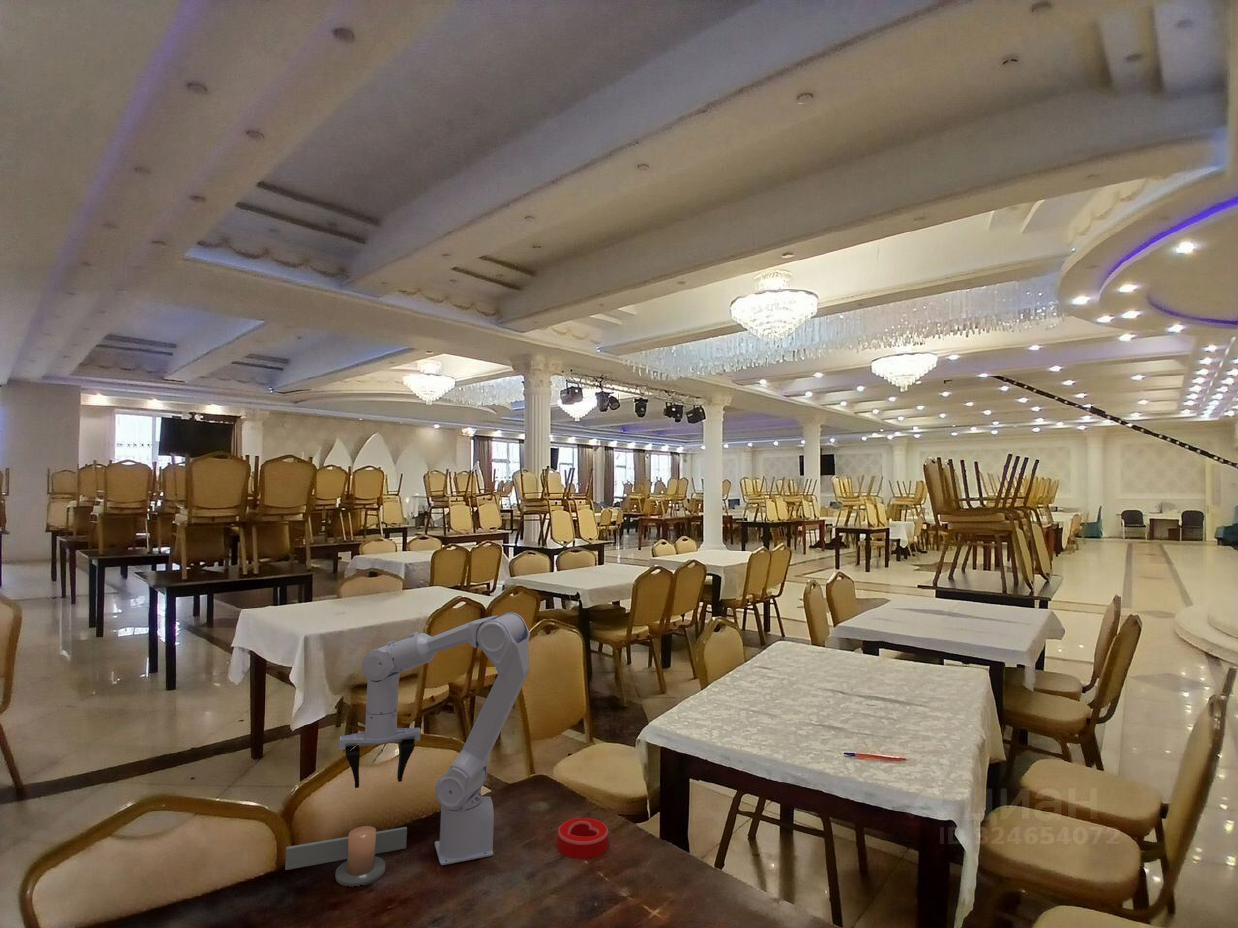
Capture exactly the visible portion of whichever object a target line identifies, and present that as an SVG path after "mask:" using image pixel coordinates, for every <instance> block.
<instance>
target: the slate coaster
mask: <svg viewBox="0 0 1238 928" xmlns="http://www.w3.org/2000/svg"><path fill="white" fill-rule="evenodd" d="M347 861H348V860H346V861H344V862H342V863H341V864H340V865H339V866H338V867H337V868H336V870H335V875H334V876H335V877H334V878H335V882H336V883H337V884H338V885H340V886H343V887H347V886H349V887H350V888H355V887H354V886H357V887H361V886H360V885H363V886H367V885H369V884H372V883H374V882H376V881H378V880H380V878H382V876H384V874H385V872H386V861H385V860H384V859H383V858H381V857H379V856H376V855H375V865H374V869H373V870H372V871H370V872H369V873H367V874H364V875H359V876H354V875H350V874H348V872H347ZM349 887H348V888H349Z"/></svg>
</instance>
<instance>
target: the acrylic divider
mask: <svg viewBox="0 0 1238 928" xmlns="http://www.w3.org/2000/svg"><path fill="white" fill-rule="evenodd" d="M407 834H408V827H407V826H403V827H396V828H391V829H385V830H384V829H383V830H380V831H376V842H375V855H376V854H381V853H386V852H387V853H388V852H392V851H397V850H399V851H400V850H403V849H407V837H408V836H407ZM348 839H349V836H343V837H337V838H332V839H326V840H320V841H319V840H318V841H314V842H308V843H303V844H301V843H300V844H297V845H290V846H286V849H285V866H284V867H285V868H284V869H285V871H288V870H295V869H299V868H305V867H309V866H310V867H311V866H316V865H321V864H327V863H332V862H337V861H338V862H339V861H344V860H348Z"/></svg>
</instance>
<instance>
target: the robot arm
mask: <svg viewBox="0 0 1238 928" xmlns="http://www.w3.org/2000/svg"><path fill="white" fill-rule="evenodd" d="M530 636H531V632H530V630H529V628H528V626H527V624H526V621H525V620H524V618H523V617H522V616H521V615H520V614H518V613H516V612H505V613H503V614H502V615H501V616H499V615H492V616H488V617H484V618H479V619H475V620H473V621H469V622H468V623H464V624H462V625H459V626H457V627H456V626H455V627H454V628H452V629H449V630H447V631H444V632H441V633H439V634H438V633H437V634H436V635H434V636H431V635H430V634H427V633H425V632H421V633H419V632H418V631H415V632H412V633H409V634H408V637H406V638H404V639H401V640H399V641H396V640H391V641H389V642H387V644H386V645H384V646H382V647H379V648H374V649H373V648H372V650H371V651H369V652H368V653H366V654H365V656H364V657H363V658H362V659H363V660H362V661H361V663H362V664H361V667H362V671H363V674H364V675H365V677H366V678H367V686H366V687H367V688H366V705H365V706H366V707H365V709H366V710H365V725H364V726H365V729H364V731H360V732H357V733H352V734H347V735H341V736H339V743H338V744H339V745H338V748H339V749H338V750H339V751H342V750H343V751H344V750H345V757H346V759H347V761H348V764H349V767H350V768H351V771H352V775H353V780H354V789H358V788H360V772H359V771H360V758H361V752H360V751H361V749H360V747H361V748H362V747H367V746H374V745H375V746H376V745H377V746H378V745H384V744H385V745H386V744H393V743H398V745H399V746H398V765H397V771H396V772H397V774H396V775H397V782H398V783H401V782H402V781H403V776H404V773H405V770H406V767H407V764H408V762H409V760H410V758H411V755H412V753H413V752H414V750H415V742H420V741H421V728H420V727H405V728H404V727H398V725H397V724H398V707H399V706H398V705H399V684H400V679H401V676H400V674H401V673H403V672H405V671H409V670H411V669H414V668H417V667H420V666H423V665H425V664H428V663H431V662H432V661H433V660H434V658H435V656H436V654H437V653H440V652H443V651H446V650H449V649H452V648H456V647H458V646H459V647H460V646H461V645H466V644H469V645H470V646H471V647H472V648H474V649H477V648H480V649H481V651H482V652H483V653H484V654H485V657H486V658H488V660H489V661H490V662H491V664H492V665H493V666H494V667H495V669H496V672H497V676H496V678H495V680H494V683H493V684H492V687H491V689H490V691H489V693H488V695H487V696H486V699H485V701H484V703H483V706H482V707H481V709H480V712H479V714H478V716H477V718H476V720H475V723H474V725H473V726H472V729H470V733H469V735H468V737H467V738H466V741H465V743H464V745H463V747H462V749H461V751H460V752H459V753H458V755H457V756H456V758H455V759H454V761H453V762H452V763H451V764H450V767H449V769H448V770H447V772H445V773H444V774H443V775H441V776H440V778H438V780H437V782H436V784H435V790H434V791H435V796H436V800H437V801H438V803H439V804H440V805H441V806H440V826H439V827H440V828H439V830H440V831H439V840H436V841H434V847H435V850H436V855H437V857H438V862H439V864H440V865H441V866H446V865H451V864H456V863H461V862H466V861H471V860H476V859H482V858H486V857H492V856H493V855H494V825H495V824H494V823H495V822H494V821H495V820H494V819H495V817H494V815H495V814H494V812H495V811H494V803H493V800H492V797H491V796H482V786H484V785H485V783H486V781H487V778H488V768H489V764H490V763H491V757H490V754H491V753H492V751H493V748H494V746H495V745H496V742H497V739H498V738H499V737H500V734H501V732H502V730H503V727H504V726H505V723H506V721H507V719H508V718H509V715H510V714H511V711H512V709H513V706H514V704H515V703H516V700H517V699H518V696H519V695H520V693H521V690H522V689H523V686H524V684H525V681H526V680H527V678H528V676H529V673H530V652H529V651H530V650H529V641H530V638H531V637H530ZM366 738H367V739H366ZM365 739H366V740H365ZM359 743H361V744H360V745H357V744H359ZM356 745H357V746H356ZM354 746H356V747H355V748H354V749H352V748H353V747H354ZM351 749H352V750H351ZM350 750H351V751H350Z"/></svg>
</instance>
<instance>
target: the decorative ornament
mask: <svg viewBox="0 0 1238 928" xmlns="http://www.w3.org/2000/svg"><path fill="white" fill-rule="evenodd" d="M556 844H557V847H556V848H557V850H558V852H560V854H561V855H563V856H565V857H567V858H571V859H577V860H589V859H593V858H598V857H599V856H602V855H603V854H605V852H607V850H608V848H609V829H608V826H607V825H606V824H605V823H603V822H602V821H601V820H597V819H594V818H590V817H578V818H572V819H569V820H567V821H565V822H563V823H562V824H561V825H560V826H558V829H557V842H556Z"/></svg>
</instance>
